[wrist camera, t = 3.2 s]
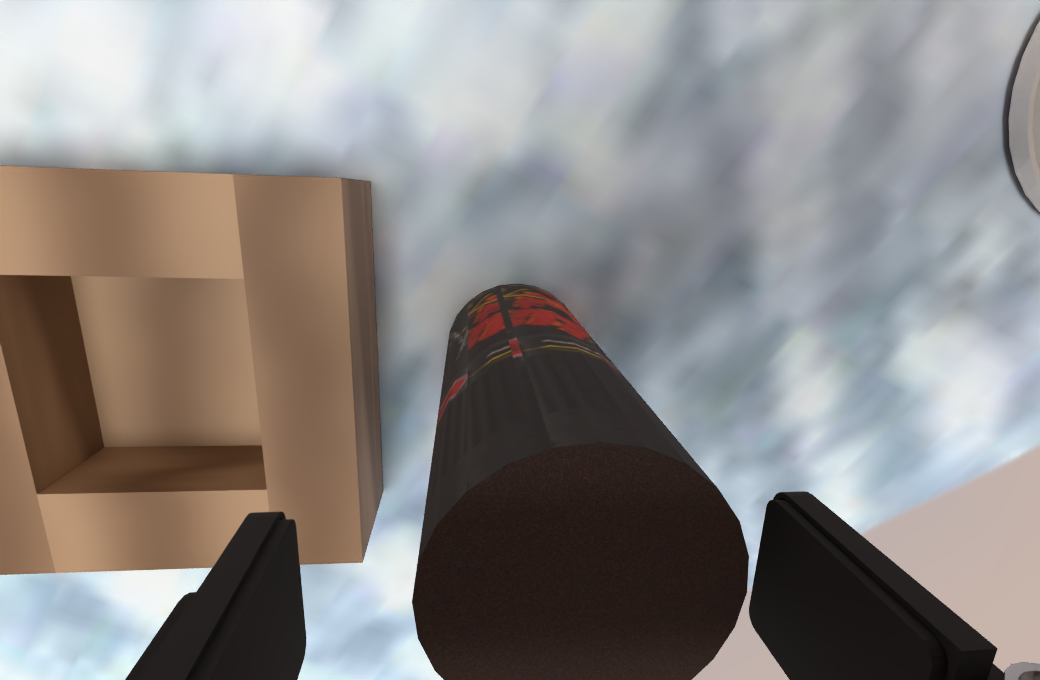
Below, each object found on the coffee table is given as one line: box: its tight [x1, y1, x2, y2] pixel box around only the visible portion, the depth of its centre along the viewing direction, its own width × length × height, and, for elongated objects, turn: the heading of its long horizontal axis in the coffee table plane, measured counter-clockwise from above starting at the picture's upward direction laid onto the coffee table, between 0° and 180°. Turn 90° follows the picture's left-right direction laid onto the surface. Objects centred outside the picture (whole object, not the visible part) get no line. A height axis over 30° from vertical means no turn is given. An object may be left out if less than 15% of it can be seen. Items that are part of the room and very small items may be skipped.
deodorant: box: [412, 284, 749, 680], centre depth 16 cm, size 6×6×15 cm
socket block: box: [0, 166, 383, 575], centre depth 20 cm, size 14×14×5 cm
